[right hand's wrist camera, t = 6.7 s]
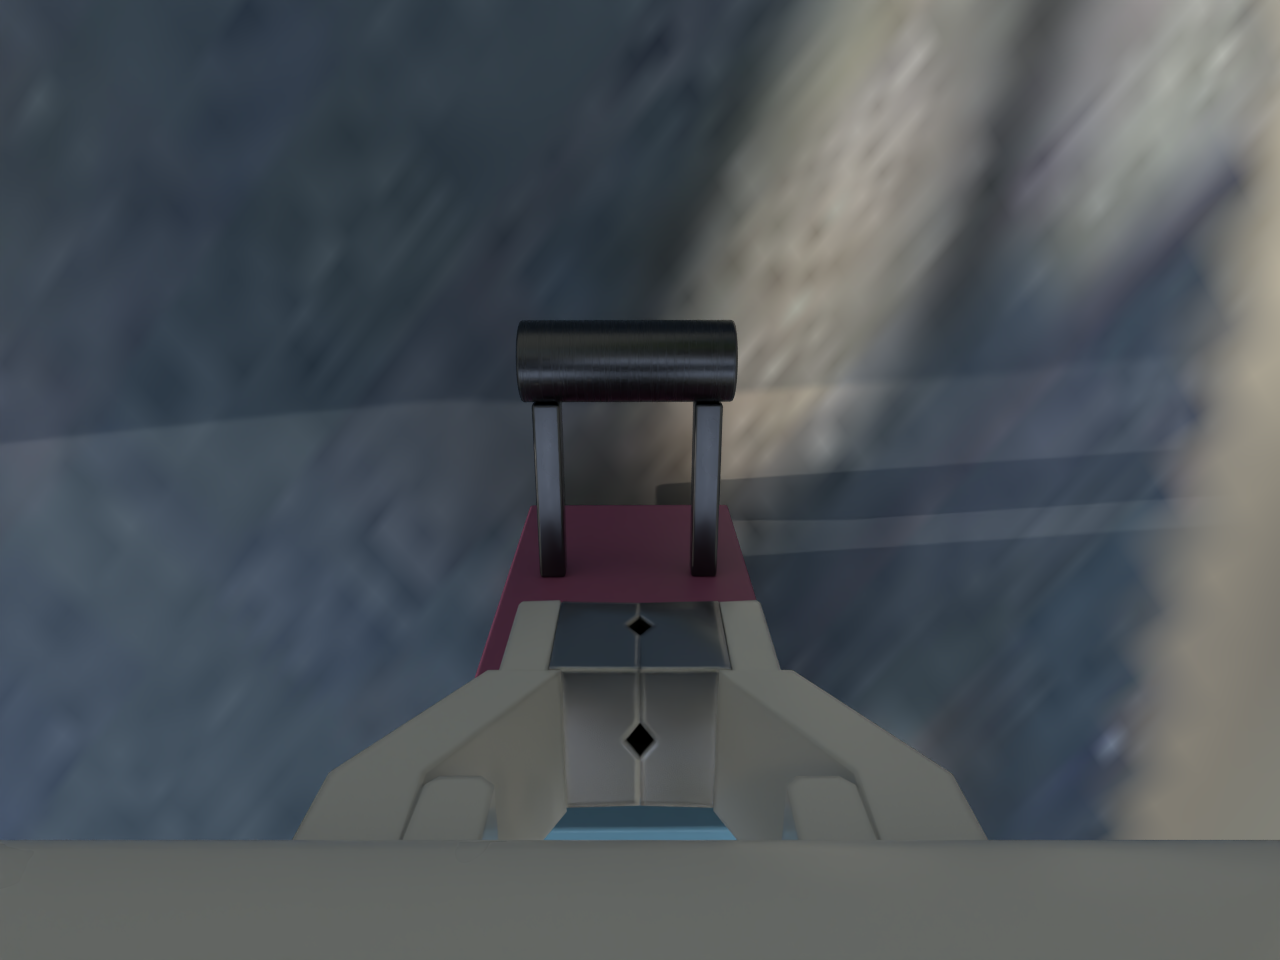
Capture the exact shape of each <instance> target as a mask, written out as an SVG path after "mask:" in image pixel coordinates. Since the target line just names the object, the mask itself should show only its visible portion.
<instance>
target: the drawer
mask: <svg viewBox="0 0 1280 960" xmlns="http://www.w3.org/2000/svg"><path fill="white" fill-rule="evenodd" d="M737 369H738V344H737V332H736V326H735V323H734V321H732V320H522V321H520V323H519V326H518V330H517V339H516V372H517V383H518V390H519V394H520V397H521V400H522V401H523V402H534V403H533V405H532V421H533V441H534V462H535V482H536V503H537V506H531V507H530V509H529V513H528V516H527V519H526V522H525V525H524V528H523V531H522V534H521V537H520V540H519V543H518V546H517V549H516V553H515V556H514V559H513V562H512V565H511V568H510V571H509V574H508V577H507V580H506V583H505V586H504V589H503V593H502V596H501V599H500V602H499V605H498V608H497V611H496V614H495V617H494V620H493V623H492V626H491V629H490V633H489V636H488V639H487V642H486V645H485V648H484V651H483V654H482V657H481V660H480V663H479V666H478V669H477V672H476V676H475V678H476V677H478V676H479V675H481V674H482V673H484V672H486V671H487V670H499V669H500V665H501V662H502V659H503V655H504V652H505V649H506V645H507V642H508V639H509V635H510V632H511V629H512V626H513V622H514V619H515V616H516V612H517V609H518V606H519V604H520V603H521V602H523V601H549V600H560V601H561V603H562V602H563V601H581V602H635V603H653V602H695V601H718V602H726V601H747V600H756V597H755V594H754V590H753V587H752V584H751V581H750V578H749V574H748V571H747V568H746V565H745V561H744V558H743V555H742V552H741V549H740V545H739V542H738V539H737V536H736V532H735V529H734V526H733V523H732V519H731V516H730V513H729V510H728V507H727V506H726V505H719V496H720V469H721V443H722V416H723V405H722V403H721V402H730V401H732V400H733V398H734V395H735V390H736V383H737ZM562 402H693V438H692V479H691V505H565V484H564V455H563V427H562Z"/></svg>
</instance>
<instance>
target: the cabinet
mask: <svg viewBox="0 0 1280 960" xmlns="http://www.w3.org/2000/svg"><path fill="white" fill-rule="evenodd" d="M713 809H714V808H704V807H667V806H611V807H576V808H567V812H566V813H565V814H564V816H563V817H562V818H561V819H560V820H559V822H558V823H557V824H556V825H555V827H554V828H553V829H552V830H551V831H550V833H549V834H548V835H547V836H546V837H545V839H544V840H737V839H736V838H735V837H734V836H733V834H732V833H731V832H730V831H729V829H728V828H727V827H726V826H725V825H724V823H723V822H722V821H721V820H720V818H719V817H718V816H717V815H716V814H715V812H714V811H713Z"/></svg>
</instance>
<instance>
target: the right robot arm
mask: <svg viewBox="0 0 1280 960" xmlns="http://www.w3.org/2000/svg"><path fill="white" fill-rule="evenodd" d="M611 806H667V807H704V808H714V809H713V811H714V812H715V814H716V815H717V816H718V817H719V818H720V820H721V821H722V822H723V823H724V825H725V826H726V827H727V828H728V829H729V831H730V832H731V833H732V834H733V836H734V837H735V838H736V839H737V840H544V839H545V837H546V836H547V835H548V834H549V833H550V831H551V830H552V829H553V828H554V827H555V825H556V824H557V823H558V822H559V820H560V819H561V818H562V817H563V816H564V814H565V813H566V812H567V808H576V807H611ZM0 960H1280V840H988V839H987V837H986V835H985V833H984V832H983V830H982V828H981V826H980V824H979V822H978V821H977V819H976V817H975V815H974V813H973V811H972V809H971V808H970V806H969V804H968V802H967V800H966V798H965V796H964V795H963V793H962V791H961V789H960V787H959V785H958V783H957V782H956V780H955V778H954V776H953V774H952V773H950V772H949V771H947V770H946V769H944V768H943V767H941V766H940V765H938V764H936V763H935V762H933V761H932V760H930V759H929V758H927V757H926V756H924V755H923V754H921V753H919V752H918V751H916V750H915V749H913V748H912V747H910V746H909V745H907V744H906V743H904V742H902V741H901V740H899V739H898V738H896V737H895V736H893V735H892V734H890V733H889V732H887V731H886V730H884V729H882V728H881V727H879V726H878V725H876V724H875V723H873V722H872V721H870V720H869V719H867V718H865V717H864V716H862V715H861V714H859V713H858V712H856V711H855V710H853V709H852V708H850V707H848V706H847V705H845V704H844V703H842V702H841V701H839V700H838V699H836V698H835V697H833V696H832V695H830V694H828V693H827V692H825V691H824V690H822V689H821V688H819V687H818V686H816V685H815V684H813V683H811V682H810V681H808V680H807V679H805V678H804V677H802V676H801V675H799V674H798V673H796V672H794V671H793V670H781V669H780V665H779V662H778V659H777V656H776V652H775V649H774V646H773V643H772V639H771V636H770V633H769V629H768V626H767V623H766V620H765V616H764V613H763V610H762V606H761V603H760V602H758V601H757V600H747V601H726V602H718V601H695V602H653V603H635V602H581V601H563V602H562V603H561V601H560V600H549V601H523V602H521V603H520V604H519V606H518V609H517V612H516V616H515V619H514V622H513V626H512V629H511V632H510V635H509V639H508V642H507V645H506V649H505V652H504V655H503V659H502V662H501V665H500V669H499V670H487V671H486V672H484V673H482V674H481V675H479V676H478V677H476V678H475V679H473V680H472V681H470V682H468V683H467V684H465V685H464V686H462V687H461V688H459V689H458V690H456V691H455V692H453V693H451V694H450V695H448V696H447V697H445V698H444V699H442V700H441V701H439V702H437V703H436V704H434V705H433V706H431V707H430V708H428V709H427V710H425V711H424V712H422V713H420V714H419V715H417V716H416V717H414V718H413V719H411V720H410V721H408V722H406V723H405V724H403V725H402V726H400V727H399V728H397V729H396V730H394V731H393V732H391V733H389V734H388V735H386V736H385V737H383V738H382V739H380V740H379V741H377V742H375V743H374V744H372V745H371V746H369V747H368V748H366V749H365V750H363V751H362V752H360V753H358V754H357V755H355V756H354V757H352V758H351V759H349V760H348V761H346V762H344V763H343V764H341V765H340V766H338V767H337V768H335V769H334V770H332V771H331V772H329V773H328V775H327V777H326V779H325V781H324V782H323V784H322V786H321V788H320V790H319V792H318V793H317V795H316V797H315V799H314V801H313V803H312V804H311V806H310V808H309V810H308V812H307V814H306V815H305V817H304V819H303V821H302V823H301V824H300V826H299V828H298V830H297V832H296V834H295V835H294V837H293V839H292V840H0Z"/></svg>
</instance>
